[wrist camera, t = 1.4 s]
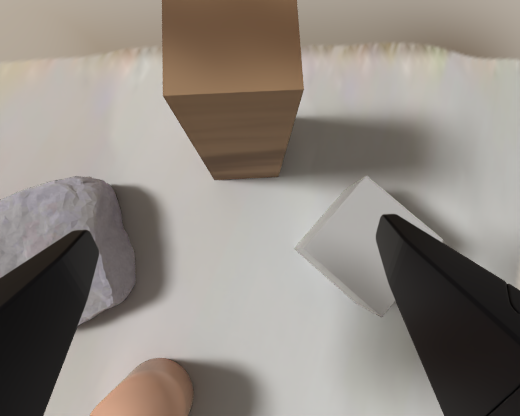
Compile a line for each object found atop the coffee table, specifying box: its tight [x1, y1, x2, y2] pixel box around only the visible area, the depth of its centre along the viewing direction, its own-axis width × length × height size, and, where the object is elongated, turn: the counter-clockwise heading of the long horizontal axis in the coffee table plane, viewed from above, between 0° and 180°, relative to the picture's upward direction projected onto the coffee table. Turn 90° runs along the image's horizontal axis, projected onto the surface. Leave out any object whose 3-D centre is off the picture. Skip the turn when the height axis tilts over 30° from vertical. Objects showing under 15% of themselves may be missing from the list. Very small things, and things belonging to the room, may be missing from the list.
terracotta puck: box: [90, 358, 194, 416], centre depth 19 cm, size 5×5×5 cm
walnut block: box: [162, 0, 304, 180], centre depth 18 cm, size 5×5×13 cm
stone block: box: [0, 176, 136, 326], centre depth 21 cm, size 12×5×10 cm
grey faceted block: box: [294, 175, 443, 317], centre depth 21 cm, size 6×6×5 cm
